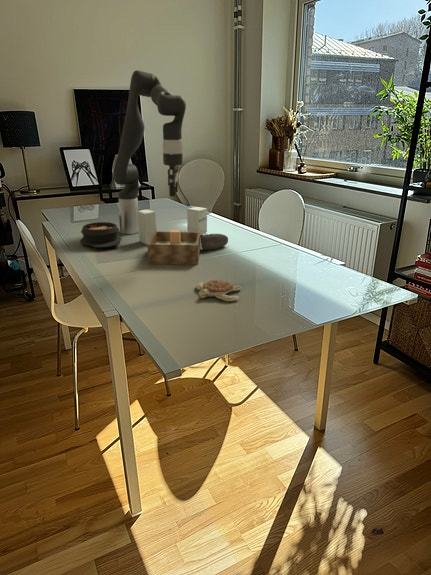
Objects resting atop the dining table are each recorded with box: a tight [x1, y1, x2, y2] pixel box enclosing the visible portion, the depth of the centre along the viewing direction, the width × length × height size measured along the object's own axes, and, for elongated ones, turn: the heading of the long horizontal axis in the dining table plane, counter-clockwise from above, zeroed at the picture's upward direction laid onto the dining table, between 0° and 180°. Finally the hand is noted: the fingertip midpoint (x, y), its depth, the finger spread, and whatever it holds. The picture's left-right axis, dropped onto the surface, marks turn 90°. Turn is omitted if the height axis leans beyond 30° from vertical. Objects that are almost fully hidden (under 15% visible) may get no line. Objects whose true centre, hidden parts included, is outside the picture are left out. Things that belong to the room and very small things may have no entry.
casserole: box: [80, 221, 123, 249], centre depth 193 cm, size 25×19×8 cm
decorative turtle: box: [195, 279, 242, 302], centre depth 141 cm, size 18×17×5 cm
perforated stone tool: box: [200, 233, 229, 251], centre depth 188 cm, size 15×5×7 cm, turn 120°
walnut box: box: [146, 230, 201, 265], centre depth 176 cm, size 20×20×8 cm
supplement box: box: [186, 206, 208, 235], centre depth 211 cm, size 7×7×13 cm
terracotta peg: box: [169, 229, 181, 244], centre depth 176 cm, size 4×4×10 cm
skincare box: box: [137, 208, 158, 246], centre depth 194 cm, size 8×6×15 cm
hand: (173, 194), depth 168 cm, fingers open, 8 cm apart
